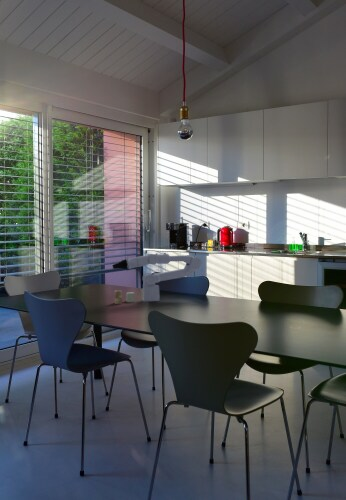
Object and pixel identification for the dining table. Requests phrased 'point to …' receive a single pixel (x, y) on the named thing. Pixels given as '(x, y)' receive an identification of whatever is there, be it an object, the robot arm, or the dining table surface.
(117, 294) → the maple block
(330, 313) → the dining table surface
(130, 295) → the sage block
